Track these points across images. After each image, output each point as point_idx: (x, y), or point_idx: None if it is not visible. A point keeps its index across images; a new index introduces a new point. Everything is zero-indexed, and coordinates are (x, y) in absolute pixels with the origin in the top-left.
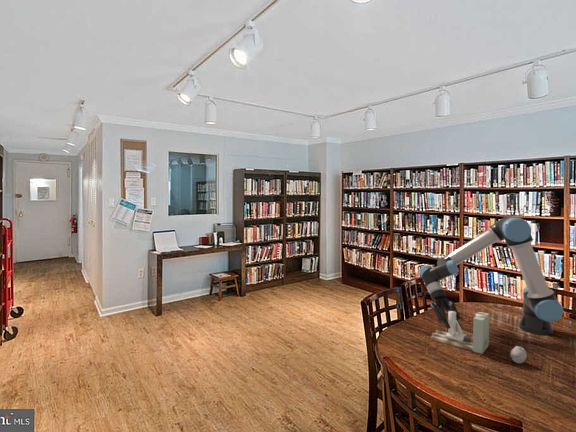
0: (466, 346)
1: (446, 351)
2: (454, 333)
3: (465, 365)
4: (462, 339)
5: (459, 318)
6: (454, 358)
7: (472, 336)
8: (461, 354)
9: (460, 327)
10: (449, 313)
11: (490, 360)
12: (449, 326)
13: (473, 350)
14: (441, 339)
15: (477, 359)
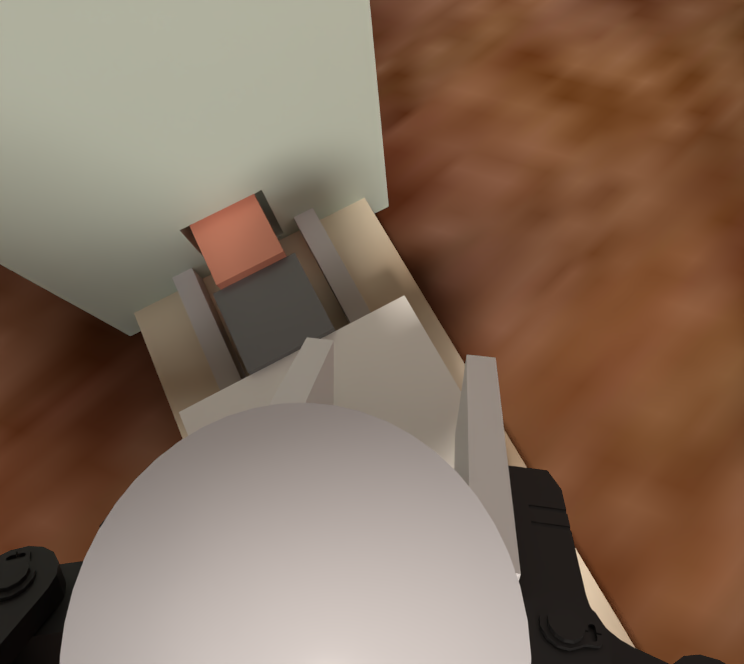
0: (402, 261)
1: (686, 299)
2: (481, 364)
3: (695, 21)
4: (394, 302)
5: (52, 556)
6: (707, 146)
7: (220, 275)
8: (564, 191)
9: (282, 387)
10: (516, 624)
11: (390, 32)
12: (512, 483)
13: (384, 194)
14: (578, 553)
15: (489, 73)
